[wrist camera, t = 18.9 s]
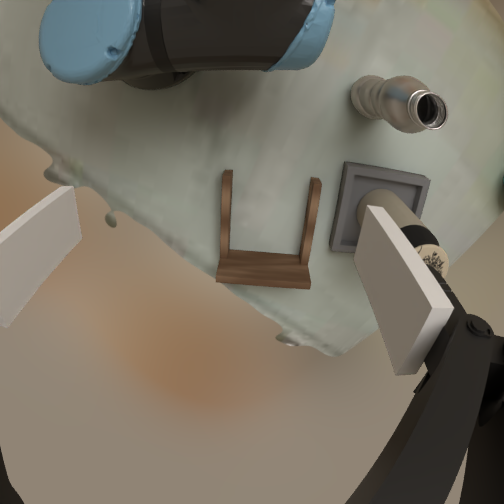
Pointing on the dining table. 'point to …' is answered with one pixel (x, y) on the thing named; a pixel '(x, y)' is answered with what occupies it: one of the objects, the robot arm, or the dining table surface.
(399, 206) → the travel mug
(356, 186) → the charcoal tray
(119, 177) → the dining table surface
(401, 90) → the metal bottle
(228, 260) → the walnut dock
